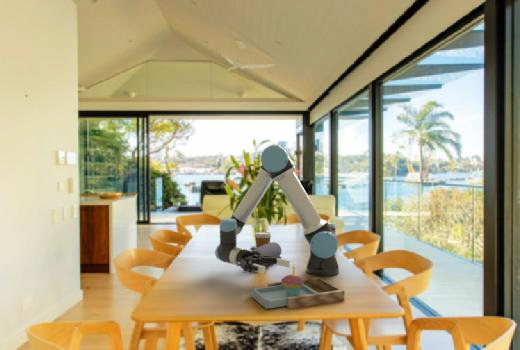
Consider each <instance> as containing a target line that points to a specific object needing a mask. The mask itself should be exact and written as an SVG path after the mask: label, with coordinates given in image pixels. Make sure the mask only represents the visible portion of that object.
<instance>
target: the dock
mask: <svg viewBox="0 0 520 350" xmlns="http://www.w3.org/2000/svg"><path fill="white" fill-rule="evenodd" d="M302 279H303V283H304V285H306V286H307V287H309V288H311V289H313V288H319V289H321V290H322V292H318V293H315V294H308V295H301V296H294V297H287V306H286V308H287V309H296V308H303V307H310V306H316V305H321V304H322V305H323V304H328V303H334V302H341V301H345V290H344V289H343V288H341V287H339V286H337V285H336V284H333V283H331V282H329V281H327V280H325V279H323V278H322V277H319V276H316V277H307V278H302ZM277 285H282V284H281V281H277V282H268V283H267V286H266V287H269V286H277ZM323 291H324V292H323Z"/></svg>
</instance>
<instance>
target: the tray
mask: <svg viewBox="0 0 520 350" xmlns="http://www.w3.org/2000/svg"><path fill="white" fill-rule="evenodd" d="M315 293H319V292H318V291H316V290H314V289H313V288H309V287H307V286H306V285H303V286H302V288H301V290H300V292H299V295H298V296H301V295H308V294H315ZM249 296H251V298H253V299H254V300H255V301H257V303H259V304H260V305H261V306H262V307H264V308H265V309H266V310H267V309H273V308H274V309H275V308H280V307H287V297H294V296H288V295H287V294H286V291H285V288H284V286H282V285H277V286H269V287H267V286H263V287H262V286H261V287H254V286H252V287H250V293H249Z"/></svg>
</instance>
